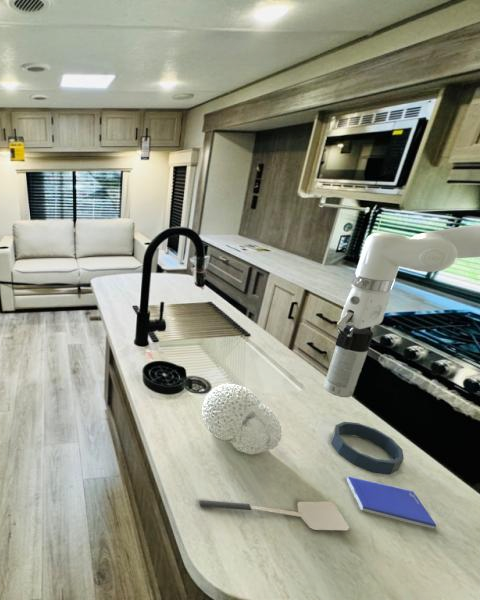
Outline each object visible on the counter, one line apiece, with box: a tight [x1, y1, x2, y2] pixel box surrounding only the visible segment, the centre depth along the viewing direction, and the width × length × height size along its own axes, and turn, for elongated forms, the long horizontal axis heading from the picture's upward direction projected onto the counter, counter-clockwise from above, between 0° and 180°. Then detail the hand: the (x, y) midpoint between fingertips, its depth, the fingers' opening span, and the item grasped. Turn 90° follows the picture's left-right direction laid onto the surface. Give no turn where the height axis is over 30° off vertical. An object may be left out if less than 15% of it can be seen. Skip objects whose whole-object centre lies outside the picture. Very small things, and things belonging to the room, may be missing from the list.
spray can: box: [323, 326, 374, 398], centre depth 87 cm, size 7×7×20 cm
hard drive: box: [346, 476, 437, 530], centre depth 71 cm, size 2×8×12 cm
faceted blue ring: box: [330, 421, 405, 476], centre depth 83 cm, size 14×14×4 cm
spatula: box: [198, 499, 350, 531], centre depth 69 cm, size 6×29×2 cm, turn 82°
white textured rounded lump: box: [201, 383, 283, 455], centre depth 88 cm, size 20×18×16 cm
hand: (351, 344), depth 85 cm, fingers closed on spray can, 6 cm apart
